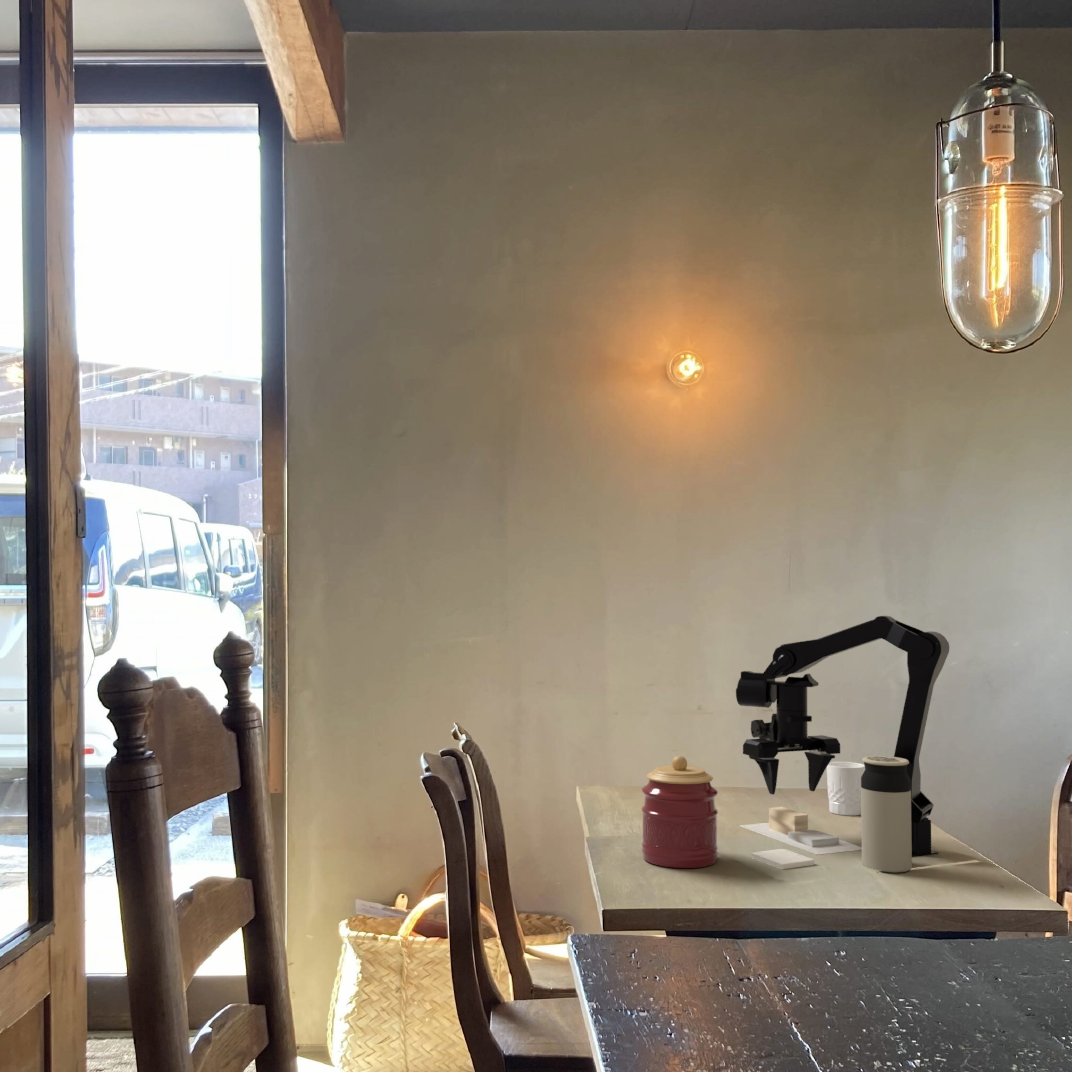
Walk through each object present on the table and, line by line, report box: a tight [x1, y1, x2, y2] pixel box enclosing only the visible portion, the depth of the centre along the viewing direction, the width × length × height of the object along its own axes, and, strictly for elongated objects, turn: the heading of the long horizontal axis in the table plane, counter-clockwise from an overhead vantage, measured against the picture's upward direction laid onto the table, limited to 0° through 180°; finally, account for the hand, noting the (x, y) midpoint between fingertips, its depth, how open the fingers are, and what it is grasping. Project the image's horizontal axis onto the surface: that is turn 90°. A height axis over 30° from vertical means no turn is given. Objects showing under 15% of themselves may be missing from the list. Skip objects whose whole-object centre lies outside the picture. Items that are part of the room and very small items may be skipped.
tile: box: [750, 848, 815, 870], centre depth 175 cm, size 2×7×8 cm
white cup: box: [825, 761, 865, 817], centre depth 217 cm, size 8×8×10 cm
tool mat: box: [738, 822, 862, 856], centre depth 193 cm, size 24×11×1 cm, turn 23°
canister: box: [641, 755, 719, 869], centre depth 177 cm, size 13×13×18 cm
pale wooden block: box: [768, 806, 840, 847], centre depth 193 cm, size 15×6×4 cm, turn 23°
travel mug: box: [860, 755, 913, 874], centre depth 173 cm, size 8×8×18 cm
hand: (792, 792), depth 195 cm, fingers open, 9 cm apart
